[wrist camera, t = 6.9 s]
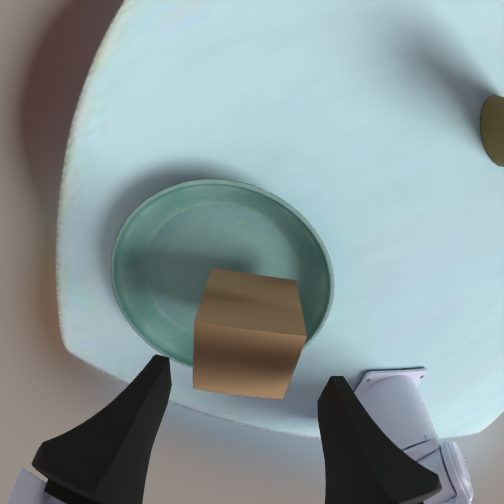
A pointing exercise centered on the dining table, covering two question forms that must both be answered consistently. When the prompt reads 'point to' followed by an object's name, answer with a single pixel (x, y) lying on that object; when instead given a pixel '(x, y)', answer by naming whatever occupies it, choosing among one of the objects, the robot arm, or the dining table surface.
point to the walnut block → (247, 334)
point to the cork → (493, 128)
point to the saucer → (212, 257)
